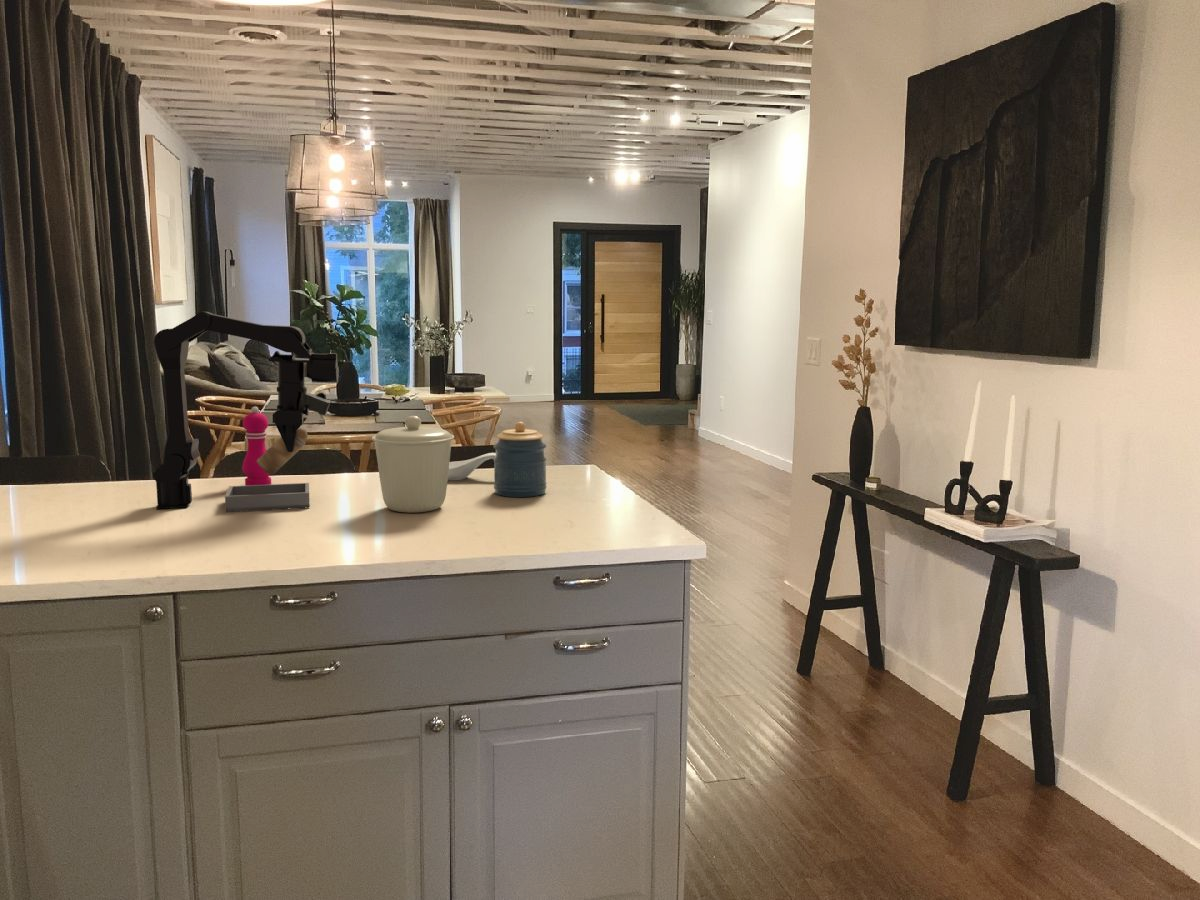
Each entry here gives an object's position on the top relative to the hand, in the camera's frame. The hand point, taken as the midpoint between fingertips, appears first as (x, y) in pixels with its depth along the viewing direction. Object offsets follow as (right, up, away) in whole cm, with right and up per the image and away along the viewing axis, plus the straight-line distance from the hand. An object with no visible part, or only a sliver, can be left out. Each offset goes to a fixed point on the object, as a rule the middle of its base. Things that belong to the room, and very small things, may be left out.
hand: (291, 450), depth 215 cm
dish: (-5, -12, 0) cm, 13 cm away
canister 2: (+51, -11, +17) cm, 55 cm away
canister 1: (+29, -13, -2) cm, 32 cm away
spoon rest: (+37, -8, +35) cm, 52 cm away
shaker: (-6, -4, -1) cm, 7 cm away
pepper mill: (-16, -9, +23) cm, 30 cm away
